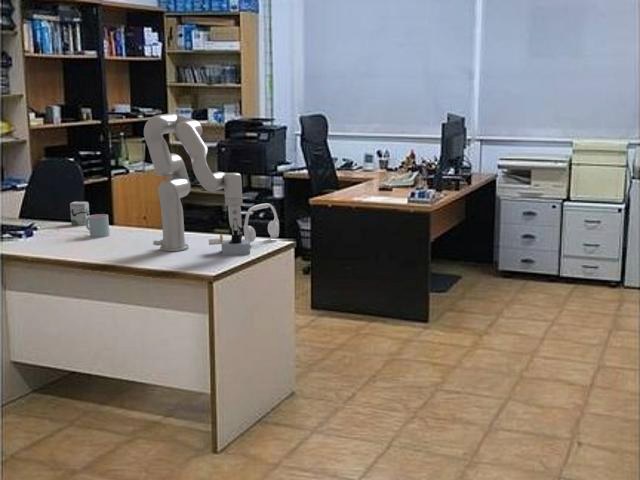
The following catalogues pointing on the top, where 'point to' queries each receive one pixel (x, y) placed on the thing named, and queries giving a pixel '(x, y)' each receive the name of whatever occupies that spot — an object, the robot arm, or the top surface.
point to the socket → (235, 247)
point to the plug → (239, 236)
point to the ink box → (79, 213)
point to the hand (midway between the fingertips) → (235, 242)
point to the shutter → (216, 241)
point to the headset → (272, 226)
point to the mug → (98, 225)
